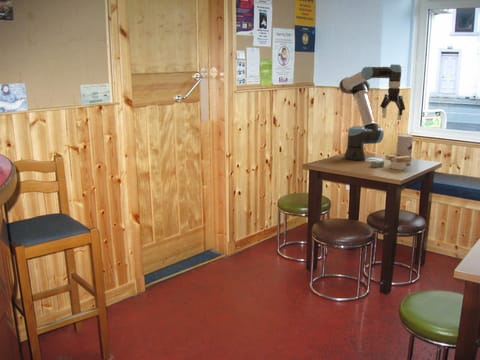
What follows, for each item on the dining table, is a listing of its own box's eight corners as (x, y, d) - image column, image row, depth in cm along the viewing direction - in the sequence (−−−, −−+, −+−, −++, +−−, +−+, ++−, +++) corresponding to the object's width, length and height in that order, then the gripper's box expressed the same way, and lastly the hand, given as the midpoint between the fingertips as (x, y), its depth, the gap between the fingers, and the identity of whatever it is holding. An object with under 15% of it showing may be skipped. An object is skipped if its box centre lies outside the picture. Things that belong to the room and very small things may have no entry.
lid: (385, 159, 348) (385, 153, 347) (397, 157, 354) (398, 152, 353) (398, 162, 338) (399, 156, 337) (411, 161, 344) (411, 155, 343)
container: (411, 165, 356) (413, 136, 351) (396, 164, 358) (398, 136, 353) (409, 162, 366) (412, 134, 361) (395, 161, 368) (397, 134, 363)
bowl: (387, 167, 349) (388, 159, 347) (397, 166, 353) (398, 158, 352) (398, 170, 341) (398, 162, 339) (408, 168, 345) (408, 160, 344)
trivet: (370, 166, 352) (371, 161, 351) (377, 165, 355) (377, 160, 354) (377, 167, 347) (377, 162, 346) (383, 166, 350) (384, 162, 349)
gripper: (376, 86, 355) (374, 117, 361) (404, 89, 335) (401, 121, 340) (384, 86, 359) (382, 116, 364) (412, 88, 338) (409, 120, 344)
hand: (391, 119), depth 352 cm, fingers open, 13 cm apart
